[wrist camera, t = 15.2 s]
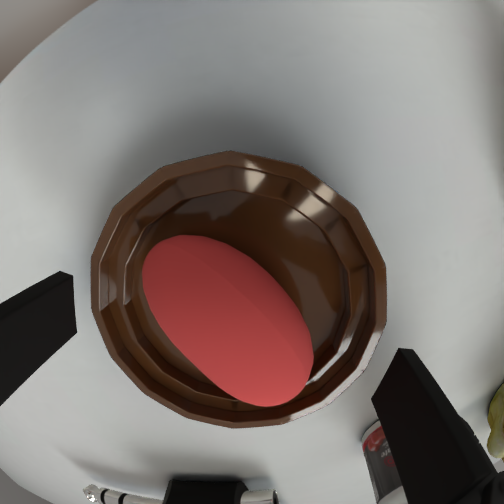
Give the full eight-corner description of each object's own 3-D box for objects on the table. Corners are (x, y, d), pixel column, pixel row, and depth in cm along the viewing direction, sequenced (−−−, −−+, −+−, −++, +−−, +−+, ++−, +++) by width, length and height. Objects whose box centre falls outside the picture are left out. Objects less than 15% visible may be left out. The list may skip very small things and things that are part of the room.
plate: (129, 141, 13) (104, 135, 10) (400, 199, 13) (425, 203, 10) (115, 366, 16) (99, 388, 14) (321, 412, 16) (326, 439, 14)
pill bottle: (414, 396, 16) (466, 496, 6) (426, 426, 17) (465, 509, 7) (350, 431, 17) (375, 540, 7) (371, 456, 18) (394, 544, 8)
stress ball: (274, 203, 14) (181, 190, 9) (351, 367, 12) (302, 450, 7) (205, 250, 16) (112, 260, 11) (269, 390, 15) (197, 450, 10)
